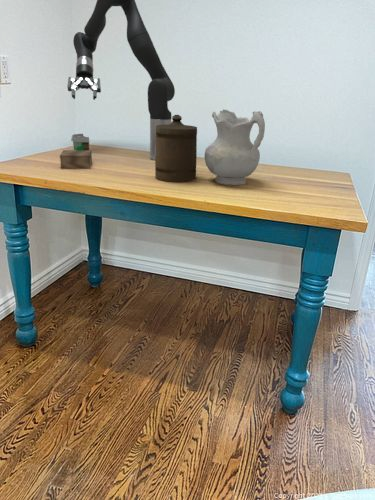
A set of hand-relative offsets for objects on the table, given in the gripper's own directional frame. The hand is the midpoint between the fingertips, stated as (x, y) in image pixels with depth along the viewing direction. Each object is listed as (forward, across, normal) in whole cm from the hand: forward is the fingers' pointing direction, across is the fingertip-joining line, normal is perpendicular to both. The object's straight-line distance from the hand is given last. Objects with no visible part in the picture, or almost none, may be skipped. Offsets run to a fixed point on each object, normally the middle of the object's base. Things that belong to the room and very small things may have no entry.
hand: (84, 98), depth 181 cm
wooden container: (+51, +35, -17) cm, 64 cm away
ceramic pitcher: (+56, +55, -22) cm, 82 cm away
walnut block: (+36, -2, -2) cm, 36 cm away
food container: (+26, -2, +8) cm, 28 cm away
